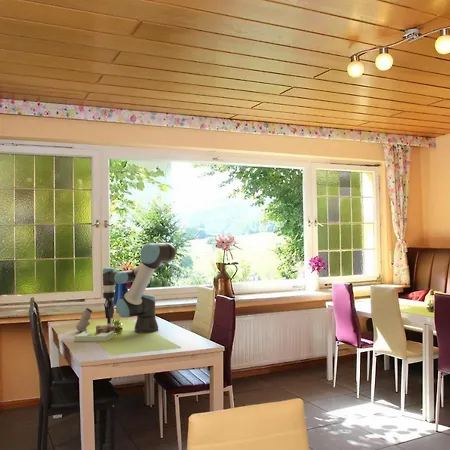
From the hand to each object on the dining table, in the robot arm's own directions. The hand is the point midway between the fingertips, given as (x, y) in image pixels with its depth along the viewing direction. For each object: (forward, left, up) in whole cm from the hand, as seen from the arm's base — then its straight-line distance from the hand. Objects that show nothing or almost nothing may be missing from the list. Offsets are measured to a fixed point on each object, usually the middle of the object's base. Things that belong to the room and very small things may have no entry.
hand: (109, 328), depth 342 cm
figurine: (+16, +4, -2) cm, 16 cm away
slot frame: (0, +26, -1) cm, 26 cm away
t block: (0, +10, -2) cm, 10 cm away
